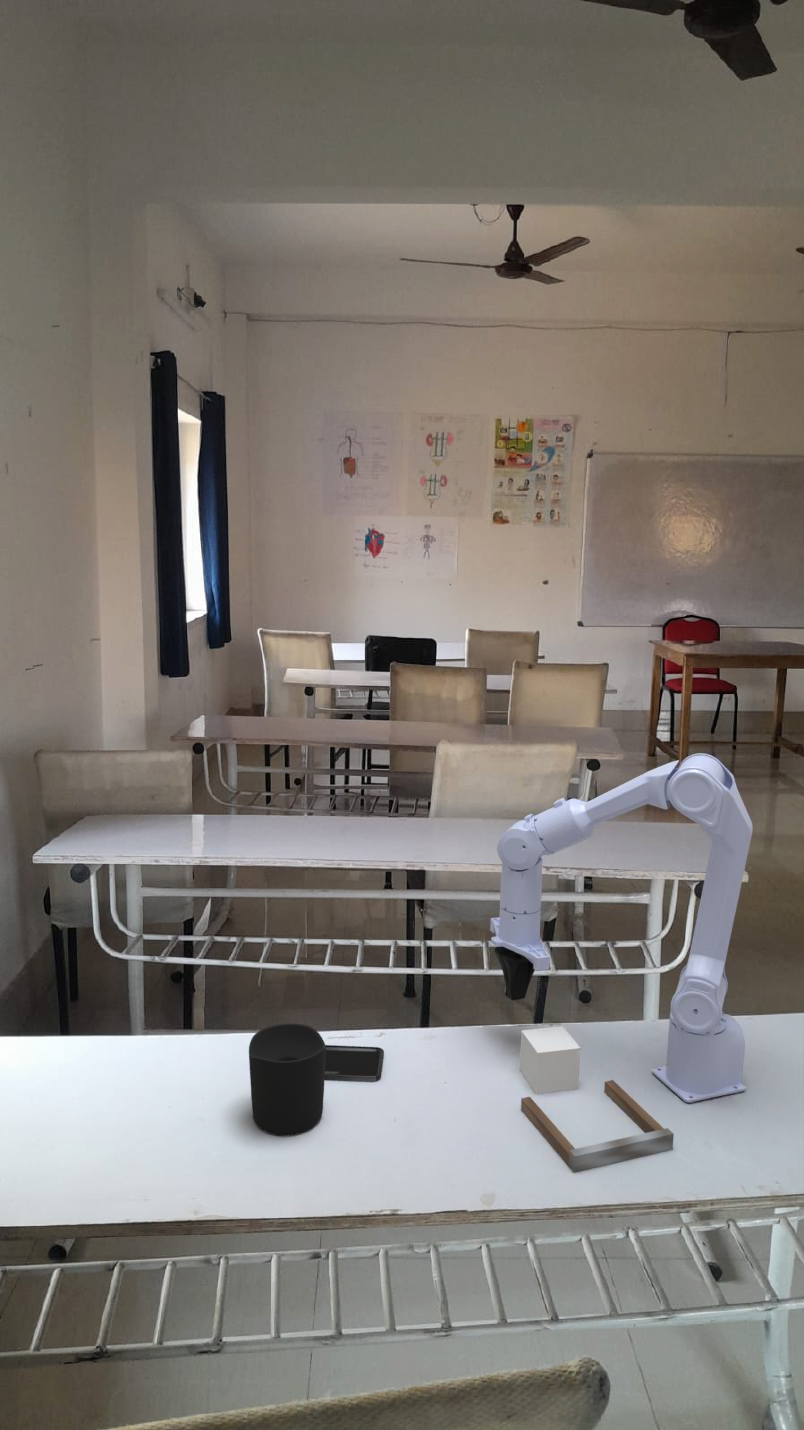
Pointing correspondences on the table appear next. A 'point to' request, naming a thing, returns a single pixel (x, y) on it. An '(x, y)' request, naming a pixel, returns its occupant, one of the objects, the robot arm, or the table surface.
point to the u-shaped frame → (608, 1151)
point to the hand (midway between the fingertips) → (516, 997)
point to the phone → (353, 1063)
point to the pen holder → (287, 1078)
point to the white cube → (549, 1060)
